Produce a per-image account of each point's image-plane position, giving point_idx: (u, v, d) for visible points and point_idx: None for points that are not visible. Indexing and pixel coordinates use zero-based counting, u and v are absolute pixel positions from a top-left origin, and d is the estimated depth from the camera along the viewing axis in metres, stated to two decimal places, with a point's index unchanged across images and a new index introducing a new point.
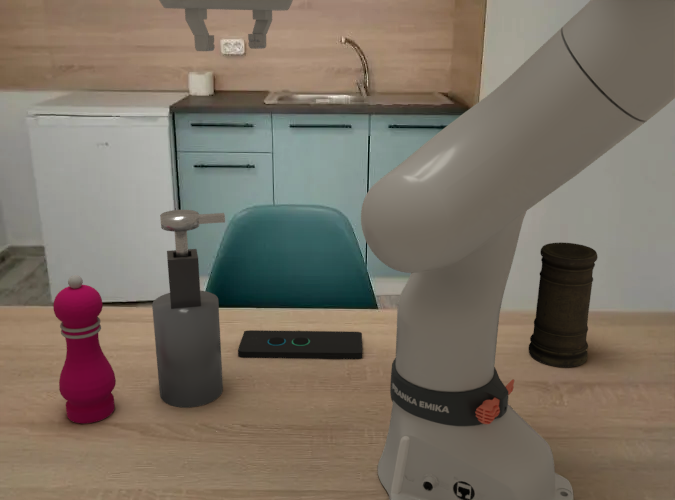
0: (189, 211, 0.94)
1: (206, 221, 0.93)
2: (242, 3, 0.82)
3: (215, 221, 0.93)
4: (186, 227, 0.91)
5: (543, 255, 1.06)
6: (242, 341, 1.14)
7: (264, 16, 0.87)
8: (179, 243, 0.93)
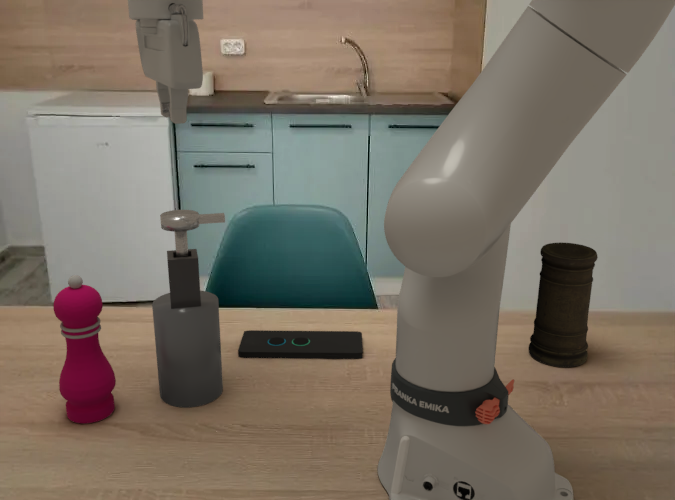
0: (189, 211, 0.94)
1: (206, 221, 0.93)
2: None
3: (215, 221, 0.93)
4: (186, 227, 0.91)
5: (543, 255, 1.06)
6: (242, 341, 1.14)
7: None
8: (179, 243, 0.93)
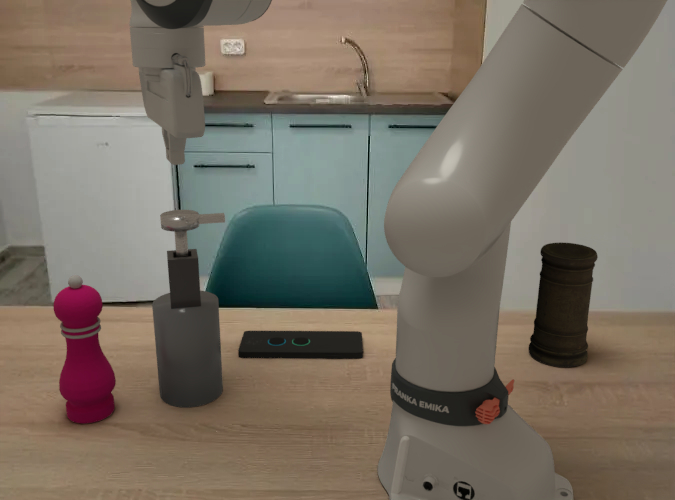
0: (189, 211, 0.94)
1: (206, 221, 0.93)
2: None
3: (215, 221, 0.93)
4: (186, 227, 0.91)
5: (543, 255, 1.06)
6: (242, 341, 1.14)
7: None
8: (179, 243, 0.93)
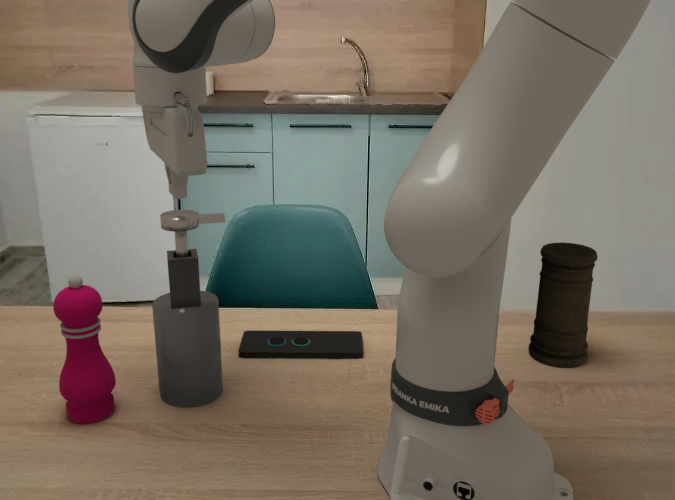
0: (189, 211, 0.94)
1: (206, 221, 0.93)
2: None
3: (215, 221, 0.93)
4: (186, 227, 0.91)
5: (543, 255, 1.06)
6: (242, 341, 1.14)
7: None
8: (179, 243, 0.93)
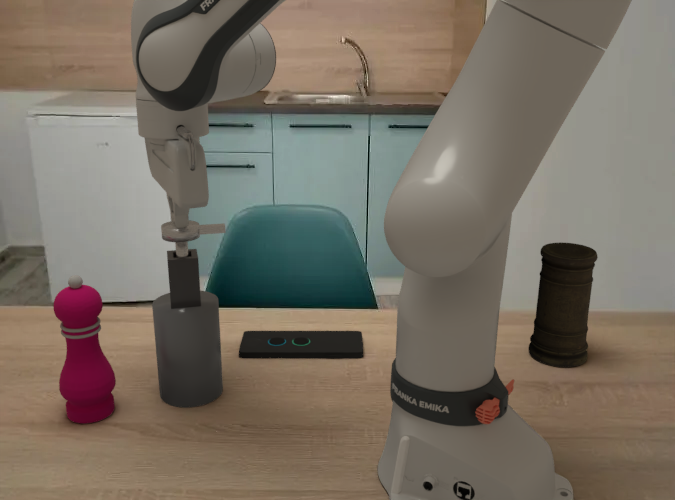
0: (190, 221, 0.94)
1: (206, 231, 0.93)
2: None
3: (216, 232, 0.94)
4: (187, 238, 0.91)
5: (543, 255, 1.06)
6: (242, 342, 1.14)
7: None
8: (179, 254, 0.93)
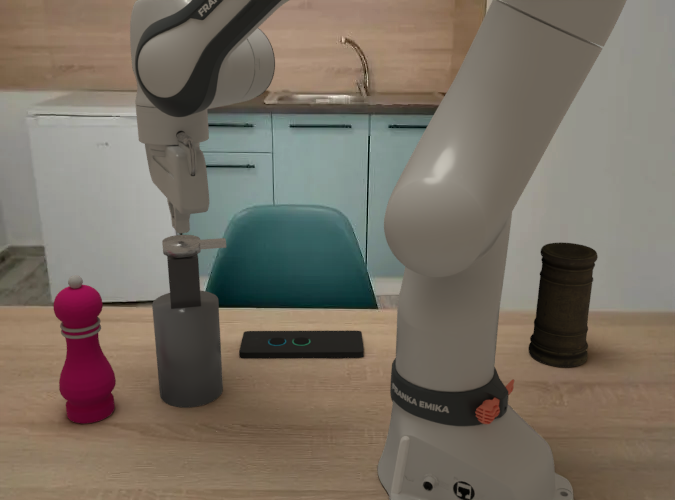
0: (191, 236, 0.95)
1: (207, 246, 0.94)
2: None
3: (216, 246, 0.94)
4: (188, 253, 0.92)
5: (543, 255, 1.06)
6: (242, 342, 1.14)
7: None
8: None
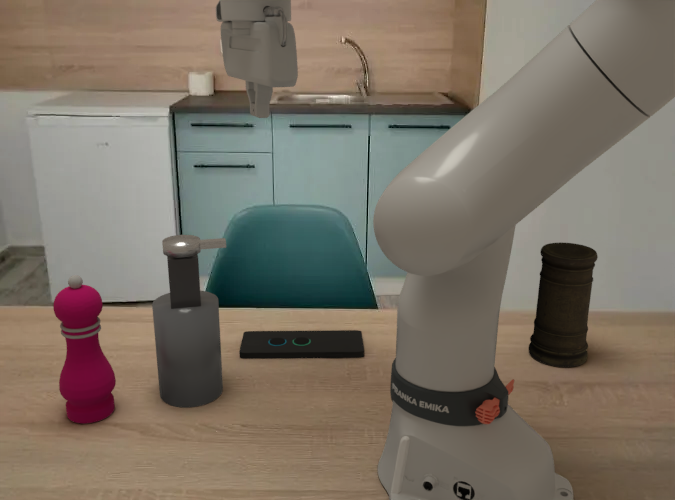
0: (191, 236, 0.95)
1: (207, 246, 0.94)
2: None
3: (216, 246, 0.94)
4: (188, 253, 0.92)
5: (543, 255, 1.06)
6: (243, 342, 1.14)
7: None
8: None
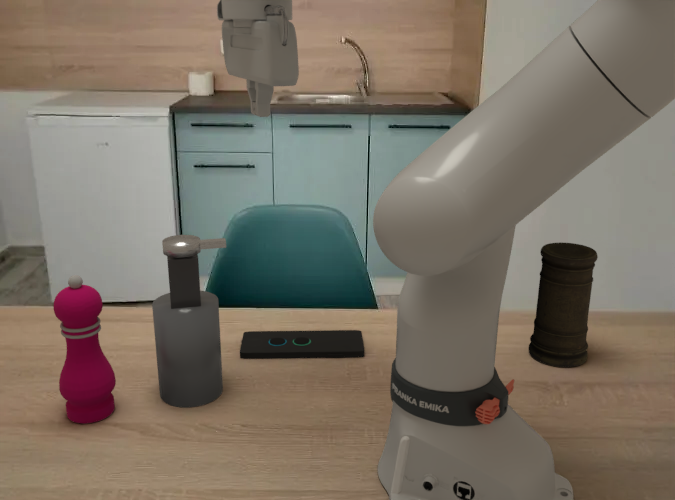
0: (191, 236, 0.95)
1: (207, 246, 0.94)
2: None
3: (216, 246, 0.94)
4: (188, 253, 0.92)
5: (543, 255, 1.06)
6: (243, 342, 1.14)
7: None
8: None
